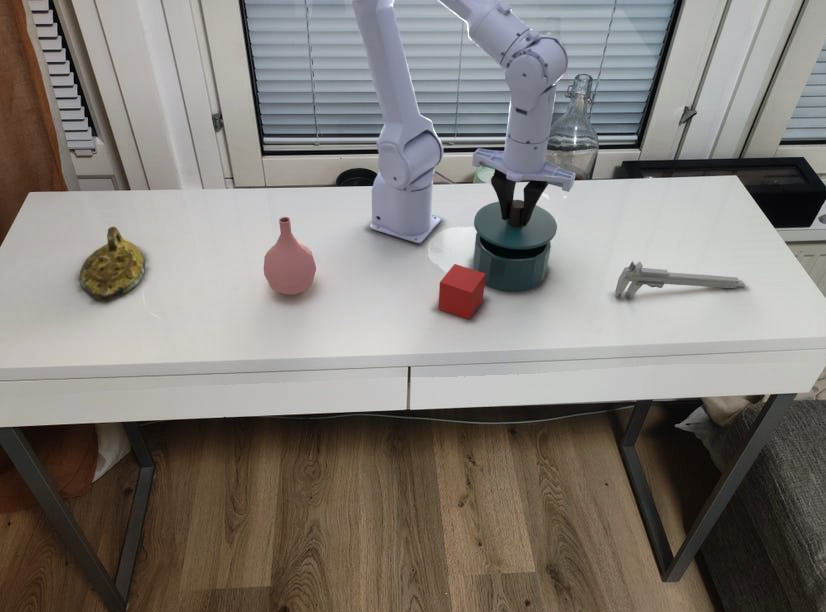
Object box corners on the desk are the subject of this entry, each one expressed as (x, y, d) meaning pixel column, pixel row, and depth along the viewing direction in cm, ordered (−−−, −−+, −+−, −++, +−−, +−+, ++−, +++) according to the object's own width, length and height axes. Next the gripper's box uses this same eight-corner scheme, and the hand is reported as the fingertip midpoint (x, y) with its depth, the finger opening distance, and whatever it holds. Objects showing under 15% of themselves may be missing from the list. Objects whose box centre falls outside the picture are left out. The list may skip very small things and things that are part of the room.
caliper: (616, 300, 113) (625, 266, 108) (613, 295, 113) (622, 261, 109) (744, 288, 115) (758, 254, 111) (741, 283, 116) (754, 250, 112)
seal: (142, 305, 112) (148, 246, 123) (138, 280, 109) (145, 221, 119) (74, 306, 110) (87, 245, 121) (69, 280, 107) (82, 220, 118)
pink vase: (264, 274, 116) (255, 207, 108) (314, 269, 117) (308, 202, 109) (268, 306, 111) (258, 238, 102) (320, 300, 112) (314, 232, 103)
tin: (461, 278, 116) (463, 248, 112) (489, 240, 123) (493, 212, 119) (530, 300, 112) (535, 270, 109) (555, 260, 120) (560, 231, 116)
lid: (460, 238, 111) (462, 212, 108) (492, 198, 119) (495, 174, 116) (538, 262, 107) (543, 236, 104) (567, 219, 115) (571, 195, 112)
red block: (438, 309, 111) (439, 282, 107) (452, 290, 114) (454, 263, 110) (469, 319, 109) (471, 292, 106) (483, 300, 112) (486, 273, 109)
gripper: (466, 133, 102) (459, 219, 111) (569, 160, 97) (553, 247, 107) (487, 112, 107) (478, 196, 116) (586, 137, 102) (569, 222, 111)
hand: (515, 219), depth 112 cm, fingers closed on lid, 2 cm apart
